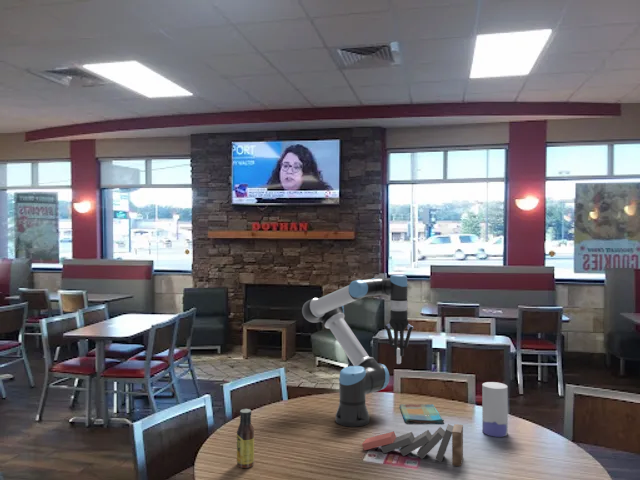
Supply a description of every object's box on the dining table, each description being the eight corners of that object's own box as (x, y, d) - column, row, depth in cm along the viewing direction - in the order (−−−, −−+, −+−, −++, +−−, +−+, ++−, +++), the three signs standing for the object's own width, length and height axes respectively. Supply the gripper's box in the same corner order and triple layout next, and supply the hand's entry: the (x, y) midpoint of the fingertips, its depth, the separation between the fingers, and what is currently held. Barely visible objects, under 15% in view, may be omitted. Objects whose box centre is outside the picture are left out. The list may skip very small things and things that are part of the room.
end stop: (452, 465, 182) (452, 431, 182) (454, 456, 189) (454, 424, 189) (460, 466, 181) (460, 432, 181) (462, 457, 188) (462, 425, 188)
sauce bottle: (237, 461, 185) (237, 407, 185) (254, 461, 185) (254, 406, 185) (235, 469, 178) (235, 413, 178) (253, 469, 179) (253, 412, 179)
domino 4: (435, 459, 185) (446, 429, 184) (437, 452, 190) (448, 423, 189) (441, 462, 184) (452, 432, 183) (443, 455, 190) (454, 426, 188)
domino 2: (399, 450, 190) (425, 435, 186) (402, 444, 195) (428, 429, 192) (403, 456, 189) (429, 441, 186) (406, 450, 195) (431, 435, 191)
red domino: (368, 444, 200) (396, 437, 196) (364, 450, 195) (392, 443, 191) (366, 438, 201) (394, 431, 196) (361, 444, 195) (390, 436, 191)
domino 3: (416, 454, 187) (438, 432, 185) (419, 448, 193) (440, 426, 190) (421, 459, 187) (443, 437, 184) (424, 452, 192) (445, 431, 189)
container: (507, 429, 216) (507, 382, 216) (507, 438, 206) (507, 389, 206) (482, 427, 219) (482, 380, 219) (482, 435, 209) (482, 387, 209)
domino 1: (380, 447, 192) (408, 437, 188) (384, 441, 198) (411, 431, 194) (383, 453, 192) (411, 443, 188) (387, 447, 197) (414, 437, 193)
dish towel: (405, 425, 223) (405, 419, 223) (398, 407, 246) (398, 402, 246) (444, 425, 223) (444, 419, 223) (434, 407, 246) (434, 402, 246)
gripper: (382, 310, 223) (382, 363, 223) (411, 311, 218) (412, 366, 218) (386, 308, 230) (386, 360, 230) (415, 309, 225) (415, 362, 225)
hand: (399, 363), depth 224 cm, fingers closed
